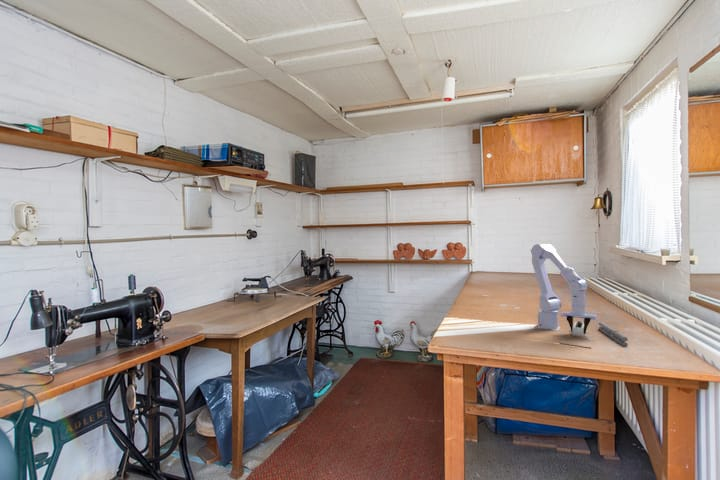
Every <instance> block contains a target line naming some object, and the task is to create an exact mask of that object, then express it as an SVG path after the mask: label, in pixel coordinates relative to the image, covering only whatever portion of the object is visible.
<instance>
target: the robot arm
mask: <svg viewBox="0 0 720 480" xmlns="http://www.w3.org/2000/svg"><path fill="white" fill-rule="evenodd" d="M530 253H531V265H532V267H533V270H534V273H535V277H536V280H537V283H538V284H537V285H538V287H539V290H540V293H541V294H540V296H539V298H538V300H539V304H538V305H539V308H540V310H538V312H537V328H538V329H545V330H553V331H559V330H560V328H561V326H559V312H560V309H562V305H563V304H562V301H561V300H560V299H559V296H558V295H557V293H555V292H554V291H553V288H552V287H553V286H552V285H551V281H550V278H549V276H548V275H549V274H548V272H547V268H546V265H545V263H546V260H548V259H549V260H550V261H551V262H552V263H553V264H554V265H555V266H556V267H557V268H558V270H560V275H561V276H562V278H563V279H564V280H565V281H566V283H568V289H569V290H570V293H571V294H570V295H571V311H561V313H560V316H561V317H566V321H567V322H568V325H569V329H570V330H571V332H572V327H573V325H574V318H578V319H583V323H584V334H586V330H588V326H589V325H590V322H591V321H592V320H594V321H597V318H598V316H597V314H591V313H586V299H587V298H586V293H587V290H588V288H589V283H588V281H587V280H585V278H581V276H579V275H578V274H577V273H576V271H575V269H574V268H573V267H572V266H567V265H566V264H565V262H564V261H563V259H562V258H561V257H560V255H559V254H558V253H557V250H556V248H555V247H554V246H553V245H552V244H550V243H541V244H540V243H539V244H537V243H536V244H534V245H533V246H532V248H531V249H530Z"/></svg>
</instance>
